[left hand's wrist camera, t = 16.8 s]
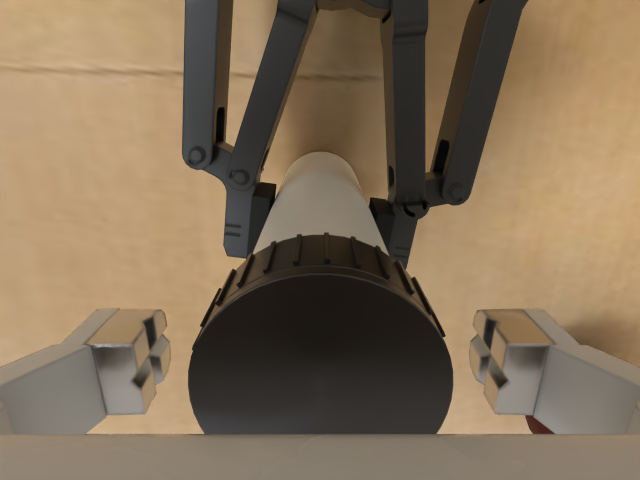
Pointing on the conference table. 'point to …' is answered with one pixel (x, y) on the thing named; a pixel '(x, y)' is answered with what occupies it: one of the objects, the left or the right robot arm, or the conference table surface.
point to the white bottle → (320, 203)
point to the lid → (320, 345)
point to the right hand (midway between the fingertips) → (305, 321)
